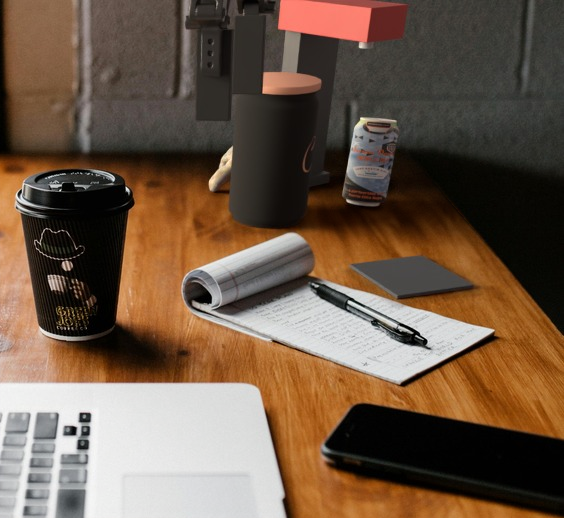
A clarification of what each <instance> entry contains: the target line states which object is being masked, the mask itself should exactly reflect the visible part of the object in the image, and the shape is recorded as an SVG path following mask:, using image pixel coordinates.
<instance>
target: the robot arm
mask: <svg viewBox="0 0 564 518" xmlns="http://www.w3.org/2000/svg"><path fill="white" fill-rule="evenodd" d="M234 5H235V0H189V7H188V11H187V15H185V16H184V28H185V30H186V31H187V30H188V31H189V30H190V31H191V30H193V31H194V30H196V31H195V34H196V35H195V37H196V38H195V103H194V105H195V107H194V108H195V110H194V111H195V112H194V113H195V114H194V120H195V121H197V122H198V121H204V122H205V121H206V122H230V121H231V120H232V103H233V101H232V100H233V95H239V94H249V95H261V94H263V75H264V72H265V53H266V51H265V50H266V35H267V33H266V32H267V15H271V14H272V15H274V14H276V10H277V0H236V10H237V13H238V14H237V15H234V17H233V28H231V27H230V25H231V24H232V15H233V10H234Z"/></svg>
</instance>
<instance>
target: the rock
mask: <svg viewBox="0 0 564 518" xmlns="http://www.w3.org/2000/svg"><path fill="white" fill-rule="evenodd" d="M232 150H233V145H232V146H231V147H229V149H228V150H227V151H226V153H224V154H223V156H222V157H221V159H220V163H219V166H218V169H217V170H216V171H215V173H214V174H213V175H212V176H211V177H210V179H209V181H208V189H209V191H210V192H212V193H216V192H218V191H219V190H220V189H221V188H222V187H223V186H225V185H226V183H228V182H229V181H230V179H231V164H232Z"/></svg>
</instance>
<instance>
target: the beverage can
mask: <svg viewBox="0 0 564 518" xmlns="http://www.w3.org/2000/svg"><path fill="white" fill-rule="evenodd" d="M397 123H398V121H397V120H395V119H388V118H379V117H369V116H368V117H365V116H361V117H360V120H358V122H357V124H356V125H355V126H354V129H353V134H352V138H351V145H350V151H349V155H348V161H347V167H346V171H345V172H346V173H345V178H344V182H343V190H342V193H341V194H342V195H341V196H342V198H344V199H346V203H349V204H350V205H355V206H364V207H379V206H380V204H381V203H382V204H383V203H385V202H386V199H387V195H388V190H389V185H390V180H391V174H392V170H393V165H394V160H395V155H396V150H397V145H398V140H399V136H400V135H399V134H400V130H399V128H398V124H397Z"/></svg>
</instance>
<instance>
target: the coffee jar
mask: <svg viewBox="0 0 564 518" xmlns="http://www.w3.org/2000/svg"><path fill="white" fill-rule="evenodd" d="M320 88H321V79H319V78H317V77H314V76H310V75H305V74H299V73H288V72H282V71H264V75H263V94H261V95H249V94H237V96H236V100H235V108H234V109H235V110H234V123H233V136H232V137H233V138H232V146H233V150H232V164H231V179H230V180H229V181H230V182H229V193H228V195H229V197H228V211H229V212H230V214H231V217H232V218H233V219H234V220H235V222H237V223H239V224H241V225H245V226H249V227H252V228H253V227H254V228H260V229H261V228H262V229H283V228H289V227H292V226H295V225H297V224H298V223H300V222H301V220H302V219H303V217H305V216H306V214H307V210H308V201H309V195H310V187H309V186H310V178H311V169H312V161H313V153H314V144H315V136H316V127H317V119H318V110H319V99H318V97H317V96H316V93H317V92H318V91H319V89H320Z"/></svg>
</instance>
